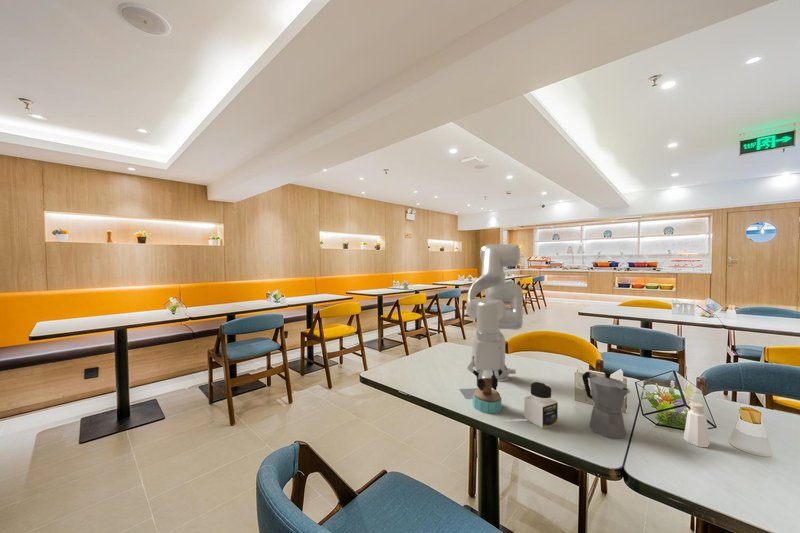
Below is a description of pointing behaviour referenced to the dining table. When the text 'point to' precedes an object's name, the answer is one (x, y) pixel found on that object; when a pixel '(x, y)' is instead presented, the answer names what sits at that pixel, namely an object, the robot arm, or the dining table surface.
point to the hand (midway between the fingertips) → (487, 388)
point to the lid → (487, 392)
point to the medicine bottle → (541, 406)
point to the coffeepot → (606, 404)
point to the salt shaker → (696, 426)
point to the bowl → (487, 405)
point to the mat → (468, 392)
